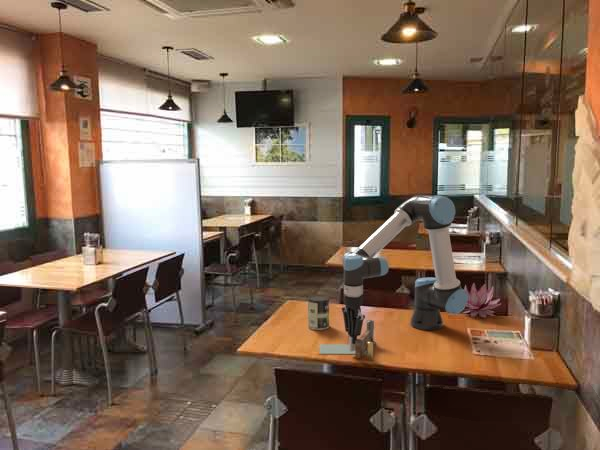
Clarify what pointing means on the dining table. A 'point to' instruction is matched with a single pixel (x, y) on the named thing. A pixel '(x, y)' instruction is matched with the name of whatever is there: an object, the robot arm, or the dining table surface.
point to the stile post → (369, 350)
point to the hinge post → (371, 327)
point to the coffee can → (318, 312)
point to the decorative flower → (480, 301)
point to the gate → (362, 343)
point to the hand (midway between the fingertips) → (352, 350)
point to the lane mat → (336, 349)
